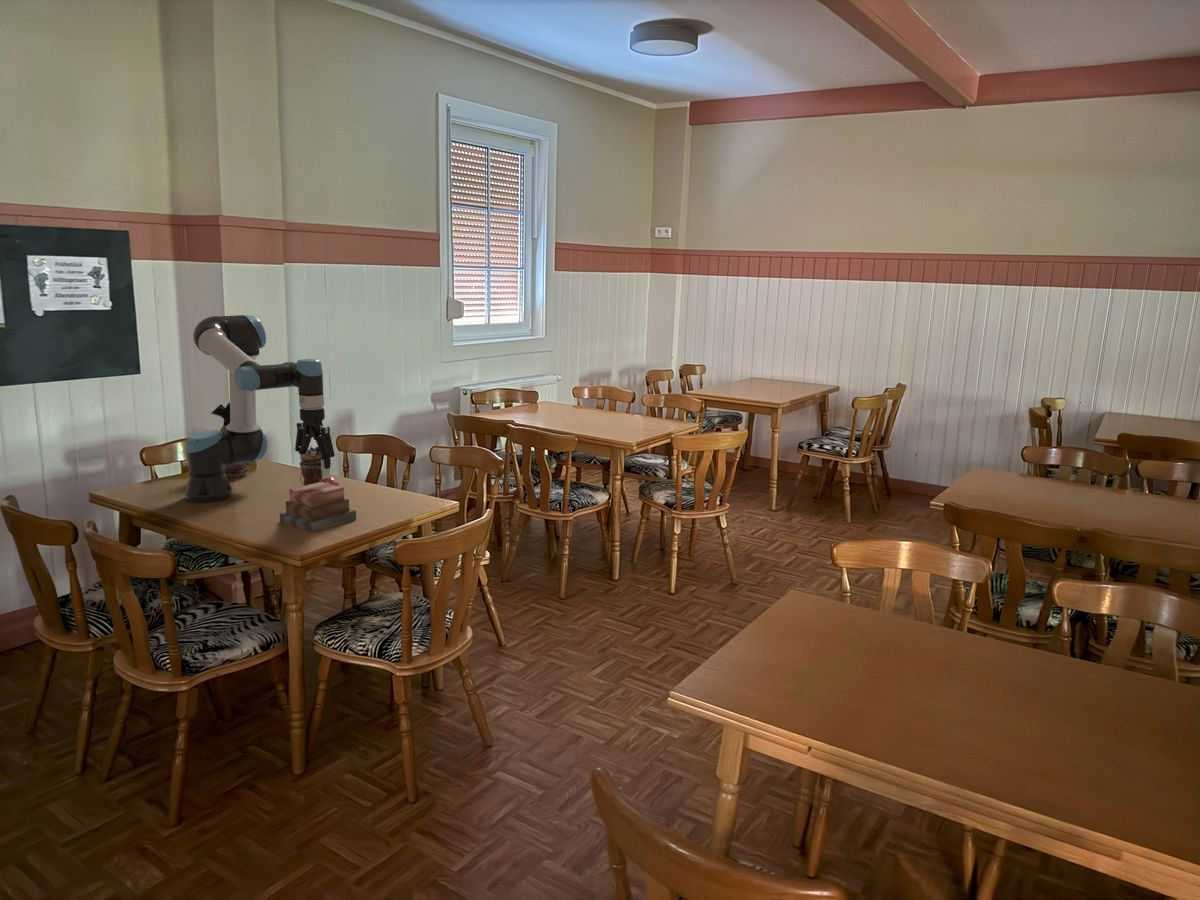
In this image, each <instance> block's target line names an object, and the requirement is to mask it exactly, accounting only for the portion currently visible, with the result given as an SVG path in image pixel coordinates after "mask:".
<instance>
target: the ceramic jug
mask: <svg viewBox="0 0 1200 900" xmlns="http://www.w3.org/2000/svg"><path fill="white" fill-rule="evenodd" d="M210 414H212V415H215V416H218V417H221V418H222V419H223V425H222V427H221V428H220V430H219V431H221V432H222V434H225V433H226V426H227V425H228V424H229V423H230V402H228V403H227V404H226V407H225V406H224V405H223V404H219V405H217V407H215V409H214V410H212V411H211V412H210ZM252 464H253V462H250V463H248V462H247V463H240V464H234V465H228V466H225V475H226V477H227V478H238V477H241V476H245V475H247V474H248V470H249V469H250V467H251V466H252Z"/></svg>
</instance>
